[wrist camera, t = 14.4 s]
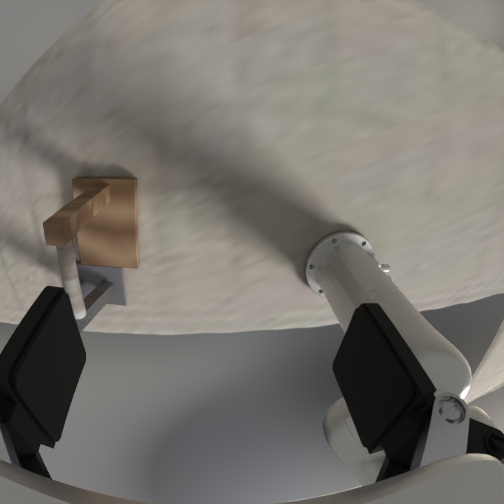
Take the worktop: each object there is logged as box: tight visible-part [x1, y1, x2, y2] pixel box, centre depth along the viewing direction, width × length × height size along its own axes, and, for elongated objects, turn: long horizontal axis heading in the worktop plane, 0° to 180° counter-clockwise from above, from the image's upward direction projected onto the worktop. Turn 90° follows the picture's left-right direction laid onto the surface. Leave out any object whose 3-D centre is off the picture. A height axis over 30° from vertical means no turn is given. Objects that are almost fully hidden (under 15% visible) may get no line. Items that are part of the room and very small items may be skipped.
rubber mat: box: [76, 262, 127, 305], centre depth 44 cm, size 11×8×1 cm
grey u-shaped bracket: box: [63, 279, 115, 333], centre depth 39 cm, size 8×2×11 cm, turn 83°
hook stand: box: [43, 177, 139, 319], centre depth 33 cm, size 14×10×16 cm
